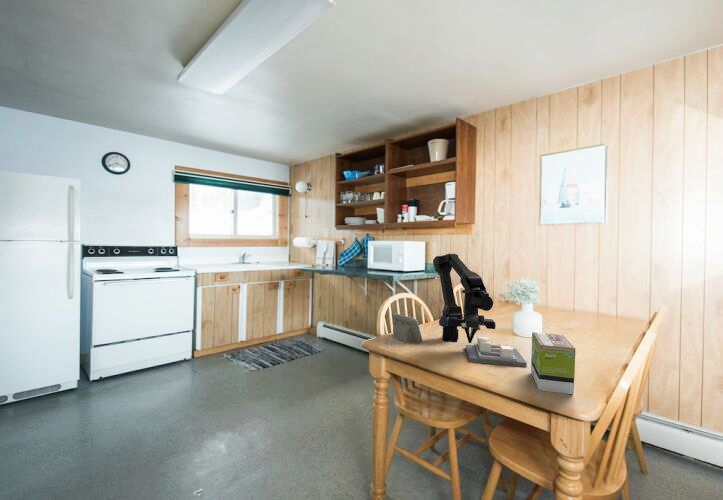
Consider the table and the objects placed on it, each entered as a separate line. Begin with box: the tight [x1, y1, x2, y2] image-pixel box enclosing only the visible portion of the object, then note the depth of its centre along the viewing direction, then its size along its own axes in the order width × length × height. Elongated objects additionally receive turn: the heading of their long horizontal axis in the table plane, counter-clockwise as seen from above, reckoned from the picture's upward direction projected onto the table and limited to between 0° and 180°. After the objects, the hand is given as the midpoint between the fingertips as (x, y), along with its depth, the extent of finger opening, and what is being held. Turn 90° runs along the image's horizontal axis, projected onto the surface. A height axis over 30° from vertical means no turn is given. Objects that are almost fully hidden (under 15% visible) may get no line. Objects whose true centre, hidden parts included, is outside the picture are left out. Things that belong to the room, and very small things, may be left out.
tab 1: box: [476, 336, 490, 347], centre depth 143 cm, size 4×4×4 cm
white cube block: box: [479, 340, 492, 352], centre depth 138 cm, size 4×4×4 cm
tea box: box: [530, 331, 576, 395], centre depth 114 cm, size 15×10×15 cm
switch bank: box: [465, 342, 528, 368], centre depth 137 cm, size 20×16×2 cm
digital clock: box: [391, 312, 423, 344], centre depth 159 cm, size 16×9×11 cm, turn 24°
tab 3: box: [500, 345, 514, 358], centre depth 132 cm, size 4×4×4 cm
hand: (469, 343), depth 144 cm, fingers closed
